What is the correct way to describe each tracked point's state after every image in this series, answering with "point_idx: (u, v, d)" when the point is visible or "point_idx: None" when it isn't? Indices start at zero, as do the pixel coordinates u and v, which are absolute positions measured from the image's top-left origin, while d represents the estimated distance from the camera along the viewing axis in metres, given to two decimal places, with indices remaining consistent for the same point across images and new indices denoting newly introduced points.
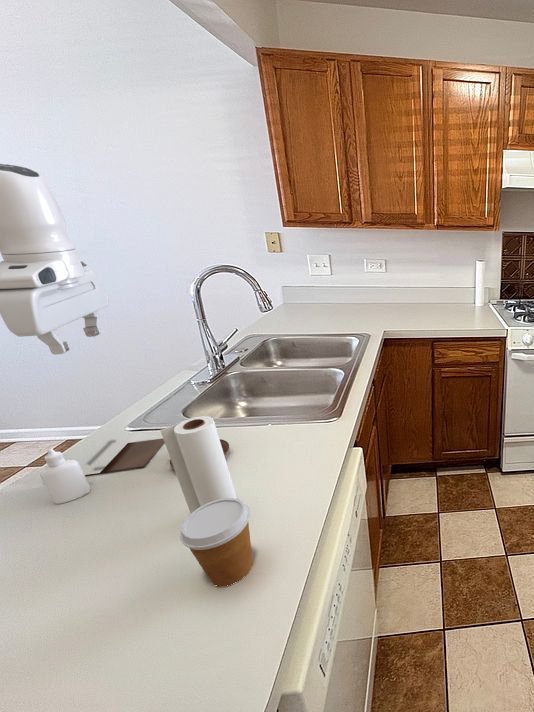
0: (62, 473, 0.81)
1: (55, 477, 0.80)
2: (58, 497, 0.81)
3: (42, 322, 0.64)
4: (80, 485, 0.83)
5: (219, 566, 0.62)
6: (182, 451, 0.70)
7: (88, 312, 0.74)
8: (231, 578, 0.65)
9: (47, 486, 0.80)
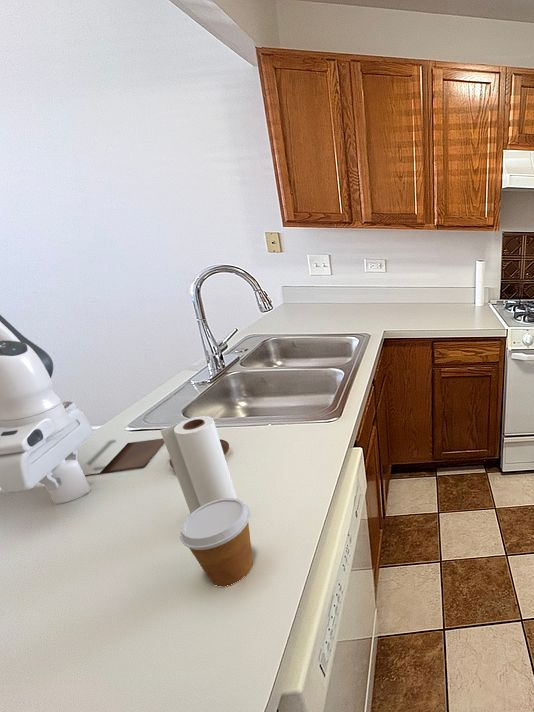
0: (62, 473, 0.81)
1: (55, 477, 0.80)
2: (58, 497, 0.81)
3: (31, 478, 0.73)
4: (80, 485, 0.83)
5: (219, 566, 0.62)
6: (182, 451, 0.70)
7: (73, 450, 0.83)
8: (231, 578, 0.65)
9: None
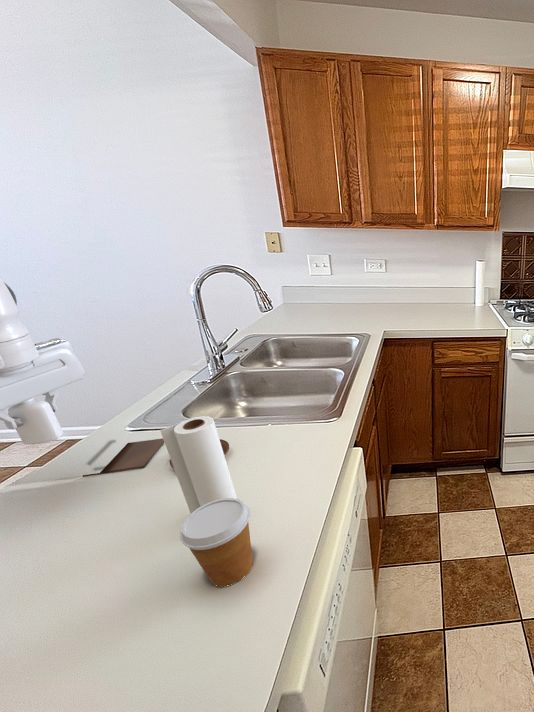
0: (25, 413, 0.75)
1: (18, 416, 0.74)
2: (24, 437, 0.76)
3: None
4: (45, 430, 0.77)
5: (219, 566, 0.62)
6: (182, 451, 0.70)
7: (46, 391, 0.77)
8: (231, 578, 0.65)
9: None
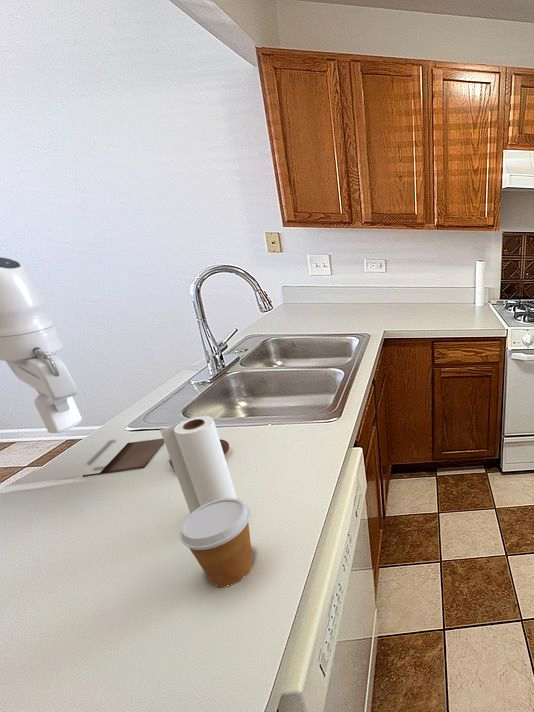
0: None
1: None
2: None
3: (16, 373, 0.81)
4: None
5: (219, 566, 0.62)
6: (182, 451, 0.70)
7: (40, 392, 0.76)
8: (231, 578, 0.65)
9: None
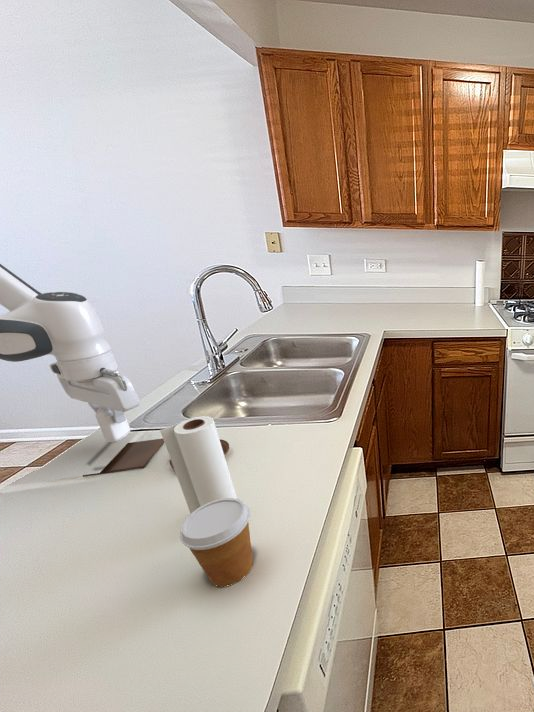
0: None
1: None
2: None
3: (69, 392, 0.91)
4: None
5: (219, 566, 0.62)
6: (182, 451, 0.70)
7: (103, 406, 0.88)
8: (231, 578, 0.65)
9: None
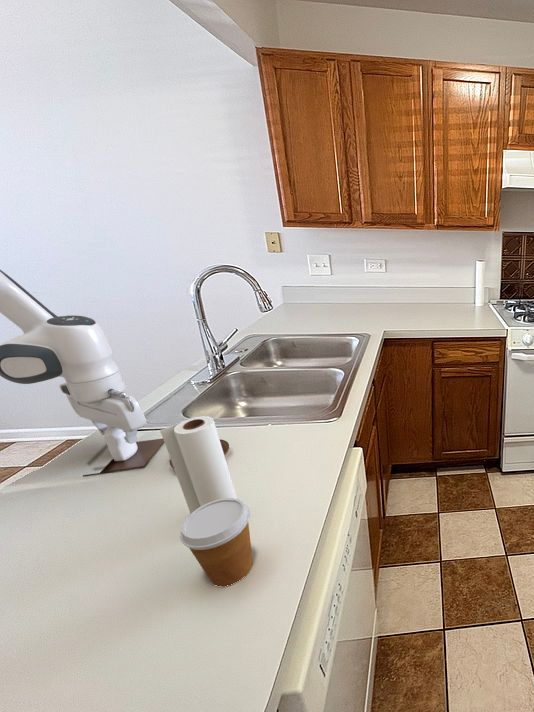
0: None
1: None
2: None
3: (78, 411, 0.93)
4: None
5: (219, 566, 0.62)
6: (182, 451, 0.70)
7: (110, 425, 0.90)
8: (231, 578, 0.65)
9: None
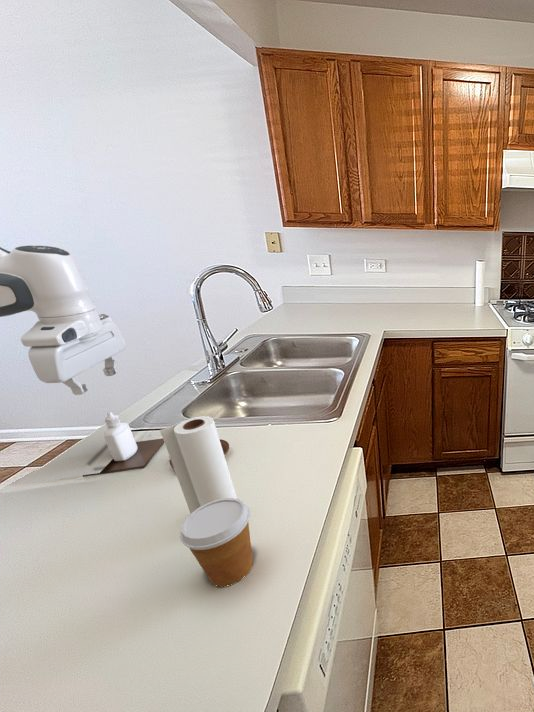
0: None
1: None
2: None
3: (64, 372, 0.79)
4: None
5: (219, 566, 0.62)
6: (182, 451, 0.70)
7: (106, 358, 0.90)
8: (231, 578, 0.65)
9: None
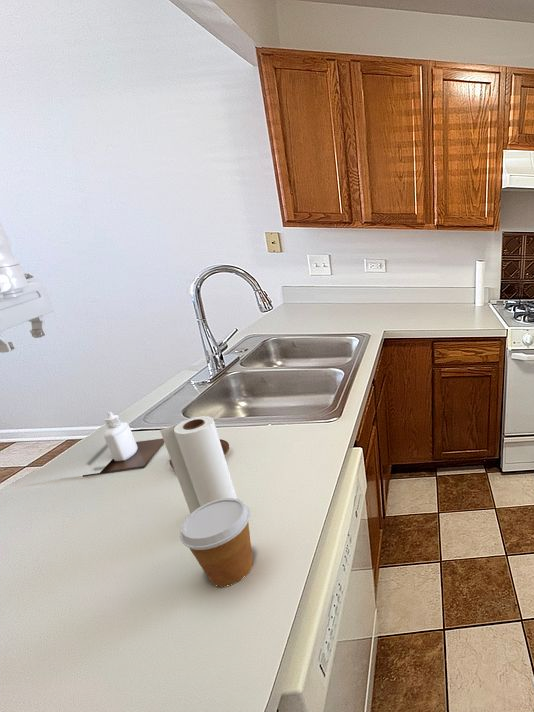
0: None
1: None
2: None
3: None
4: None
5: (219, 566, 0.62)
6: (182, 451, 0.70)
7: (33, 317, 0.88)
8: (231, 578, 0.65)
9: None
